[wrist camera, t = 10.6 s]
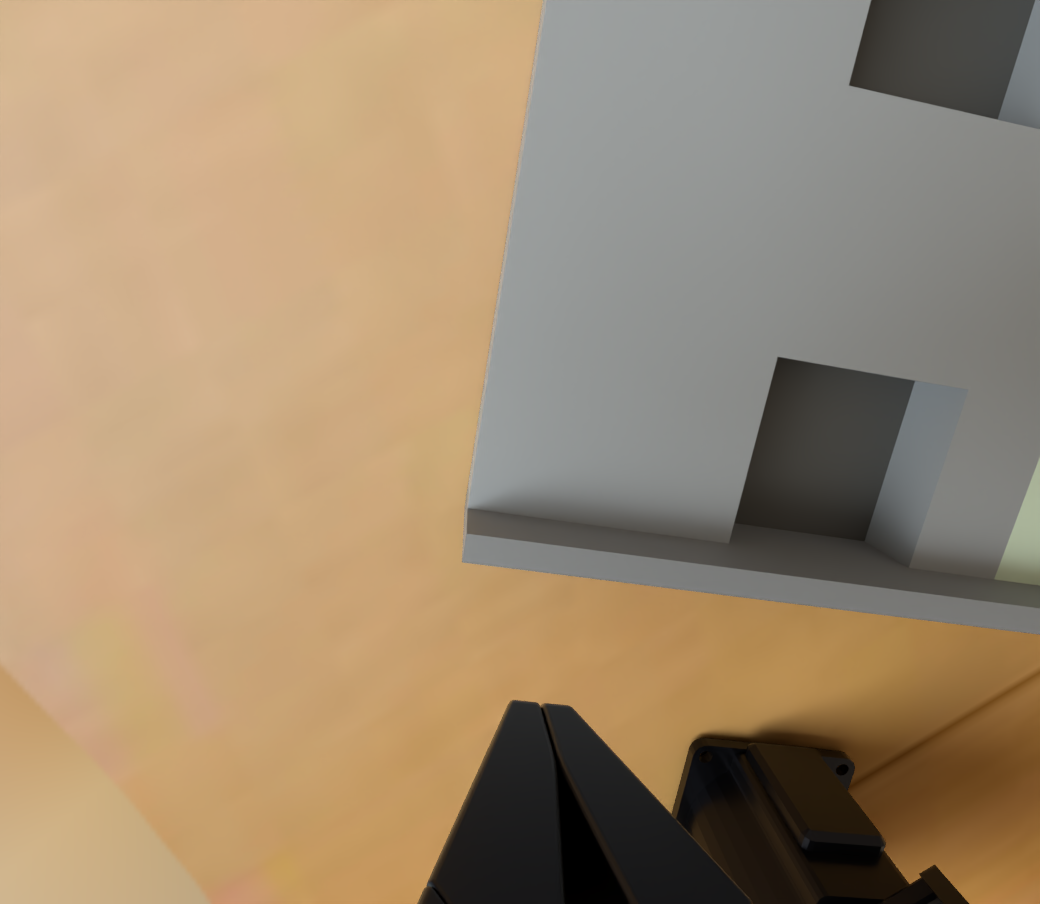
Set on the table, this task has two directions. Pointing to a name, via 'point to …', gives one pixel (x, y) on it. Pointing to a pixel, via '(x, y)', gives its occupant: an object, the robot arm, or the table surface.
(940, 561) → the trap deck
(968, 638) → the table surface
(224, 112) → the table surface
